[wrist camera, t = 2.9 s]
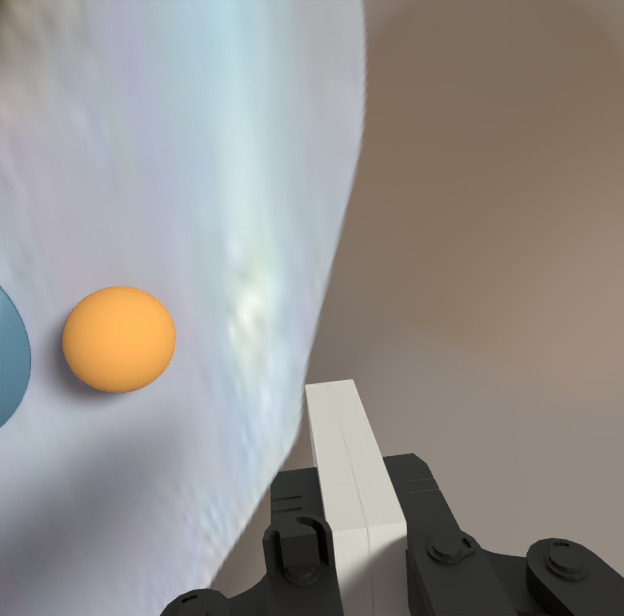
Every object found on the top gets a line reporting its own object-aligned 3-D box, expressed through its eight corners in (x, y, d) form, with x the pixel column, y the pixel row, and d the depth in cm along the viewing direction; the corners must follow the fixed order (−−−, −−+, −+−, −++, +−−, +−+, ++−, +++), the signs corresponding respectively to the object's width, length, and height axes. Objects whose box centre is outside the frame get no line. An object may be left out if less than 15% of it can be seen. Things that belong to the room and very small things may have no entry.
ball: (146, 385, 30) (121, 432, 25) (64, 331, 29) (20, 369, 24) (202, 315, 29) (188, 348, 24) (120, 256, 28) (86, 278, 23)
